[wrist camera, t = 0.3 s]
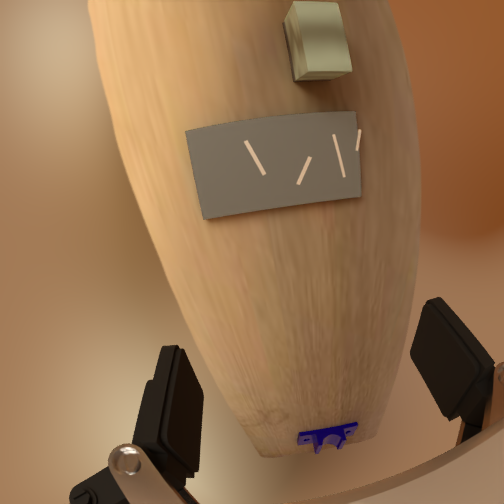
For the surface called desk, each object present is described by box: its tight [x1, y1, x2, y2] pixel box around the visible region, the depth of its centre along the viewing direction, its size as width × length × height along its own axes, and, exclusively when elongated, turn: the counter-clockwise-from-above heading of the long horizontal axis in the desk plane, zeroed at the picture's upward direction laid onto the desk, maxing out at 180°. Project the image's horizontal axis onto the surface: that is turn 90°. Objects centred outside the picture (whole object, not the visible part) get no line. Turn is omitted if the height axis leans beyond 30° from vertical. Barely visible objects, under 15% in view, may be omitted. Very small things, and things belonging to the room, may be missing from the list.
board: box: [185, 111, 361, 220], centre depth 35 cm, size 12×23×2 cm, turn 99°
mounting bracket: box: [297, 422, 358, 454], centre depth 67 cm, size 18×7×6 cm, turn 92°
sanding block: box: [283, 1, 352, 82], centre depth 25 cm, size 9×5×8 cm, turn 9°
